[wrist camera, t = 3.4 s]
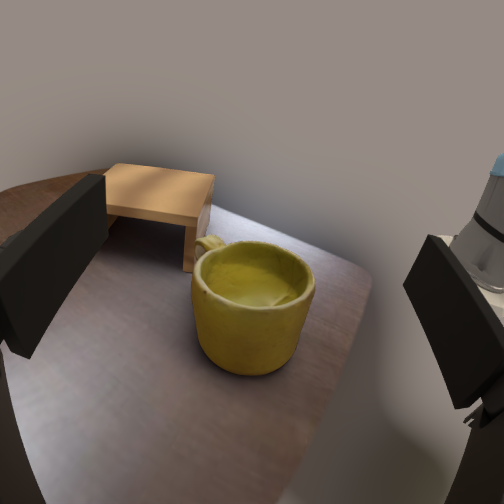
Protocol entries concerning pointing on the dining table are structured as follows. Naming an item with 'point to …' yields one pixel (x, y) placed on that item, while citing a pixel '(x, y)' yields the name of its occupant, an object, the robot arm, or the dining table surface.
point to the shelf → (162, 200)
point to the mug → (249, 303)
